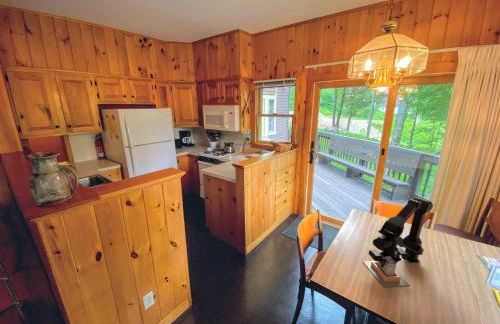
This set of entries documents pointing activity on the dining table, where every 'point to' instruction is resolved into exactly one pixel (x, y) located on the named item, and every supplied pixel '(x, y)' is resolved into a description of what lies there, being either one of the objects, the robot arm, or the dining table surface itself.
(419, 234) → the robot arm
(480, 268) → the dining table surface
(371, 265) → the end holder
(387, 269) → the medicine box
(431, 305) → the dining table surface
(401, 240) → the cell phone
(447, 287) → the dining table surface
